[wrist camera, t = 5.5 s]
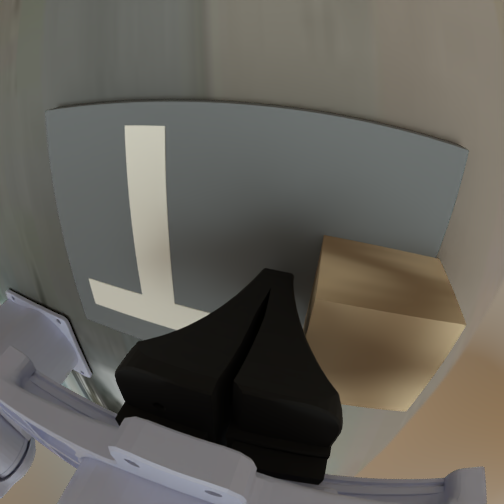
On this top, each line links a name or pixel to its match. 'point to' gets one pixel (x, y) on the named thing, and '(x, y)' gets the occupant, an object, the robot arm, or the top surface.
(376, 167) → the letter board
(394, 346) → the wooden block
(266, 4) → the top surface
